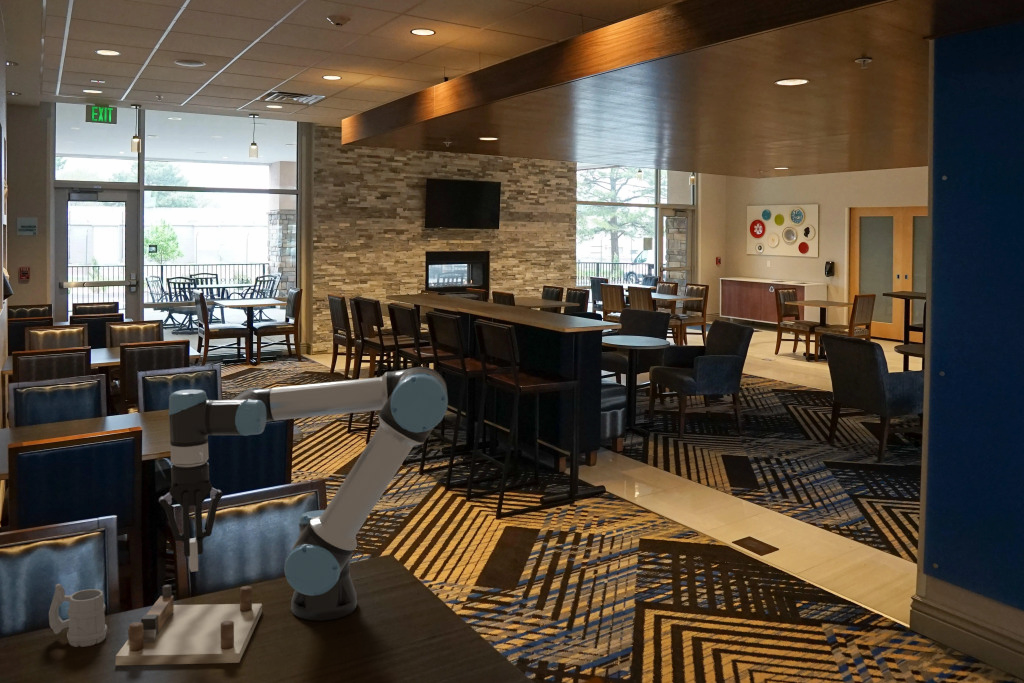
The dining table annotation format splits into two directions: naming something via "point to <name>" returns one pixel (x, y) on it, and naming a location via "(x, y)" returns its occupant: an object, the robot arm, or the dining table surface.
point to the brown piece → (159, 611)
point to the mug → (80, 616)
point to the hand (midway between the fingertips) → (193, 569)
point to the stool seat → (195, 635)
